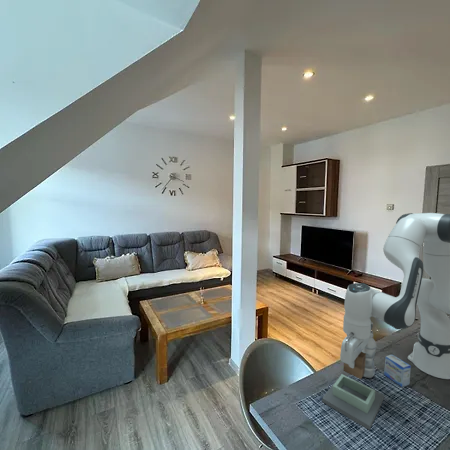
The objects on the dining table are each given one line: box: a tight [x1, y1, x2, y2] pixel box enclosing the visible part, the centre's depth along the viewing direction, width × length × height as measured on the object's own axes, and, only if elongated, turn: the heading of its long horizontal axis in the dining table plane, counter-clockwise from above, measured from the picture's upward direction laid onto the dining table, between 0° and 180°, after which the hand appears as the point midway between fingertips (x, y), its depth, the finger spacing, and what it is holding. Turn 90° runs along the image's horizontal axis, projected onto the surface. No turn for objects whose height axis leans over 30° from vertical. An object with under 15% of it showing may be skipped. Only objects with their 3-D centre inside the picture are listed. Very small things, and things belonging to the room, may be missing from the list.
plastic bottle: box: [362, 330, 378, 379], centre depth 105 cm, size 6×7×20 cm
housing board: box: [321, 373, 385, 431], centre depth 93 cm, size 18×16×5 cm
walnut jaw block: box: [343, 352, 366, 380], centre depth 91 cm, size 4×6×8 cm, turn 44°
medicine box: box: [383, 354, 412, 388], centre depth 103 cm, size 8×4×9 cm, turn 21°
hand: (354, 363), depth 91 cm, fingers closed on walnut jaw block, 4 cm apart
